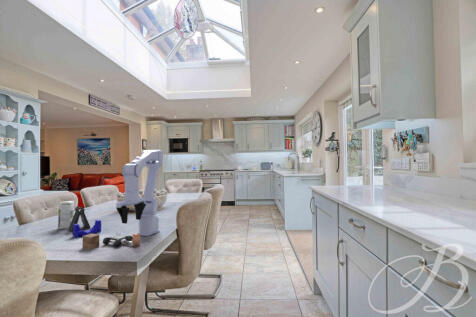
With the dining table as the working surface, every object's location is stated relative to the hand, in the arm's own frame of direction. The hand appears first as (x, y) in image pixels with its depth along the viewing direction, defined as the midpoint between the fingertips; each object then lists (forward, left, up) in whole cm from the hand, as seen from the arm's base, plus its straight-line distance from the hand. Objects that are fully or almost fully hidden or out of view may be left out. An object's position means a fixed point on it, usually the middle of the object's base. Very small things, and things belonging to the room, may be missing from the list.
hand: (131, 221), depth 110 cm
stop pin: (+2, +2, -10) cm, 10 cm away
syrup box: (-6, -56, -10) cm, 57 cm away
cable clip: (-3, -32, -10) cm, 34 cm away
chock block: (+10, -13, -10) cm, 19 cm away
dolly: (+2, -6, -10) cm, 12 cm away
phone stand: (-7, -46, -10) cm, 48 cm away
